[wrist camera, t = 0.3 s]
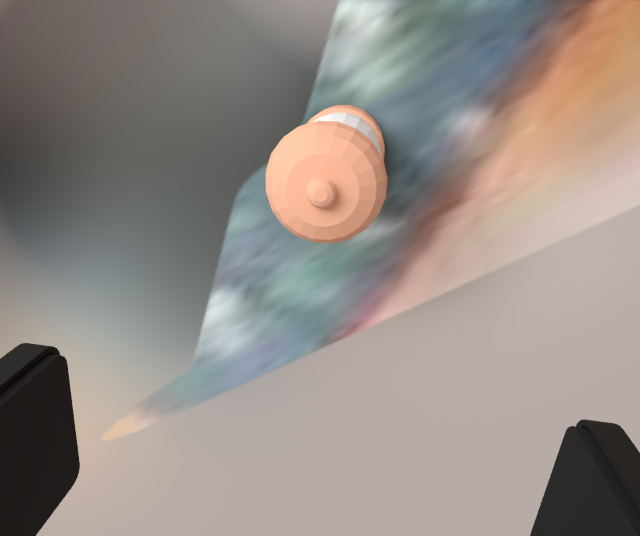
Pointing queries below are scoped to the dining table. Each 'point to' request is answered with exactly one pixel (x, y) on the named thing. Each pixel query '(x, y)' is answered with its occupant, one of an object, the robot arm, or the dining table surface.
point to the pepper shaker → (329, 175)
